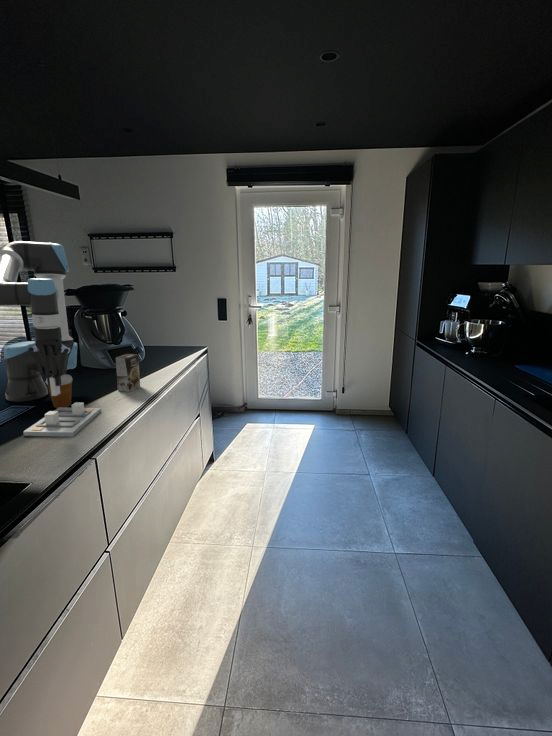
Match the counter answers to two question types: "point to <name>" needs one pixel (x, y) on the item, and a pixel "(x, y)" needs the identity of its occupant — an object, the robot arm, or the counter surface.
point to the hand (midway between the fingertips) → (56, 394)
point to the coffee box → (128, 372)
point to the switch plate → (63, 423)
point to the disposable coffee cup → (63, 392)
